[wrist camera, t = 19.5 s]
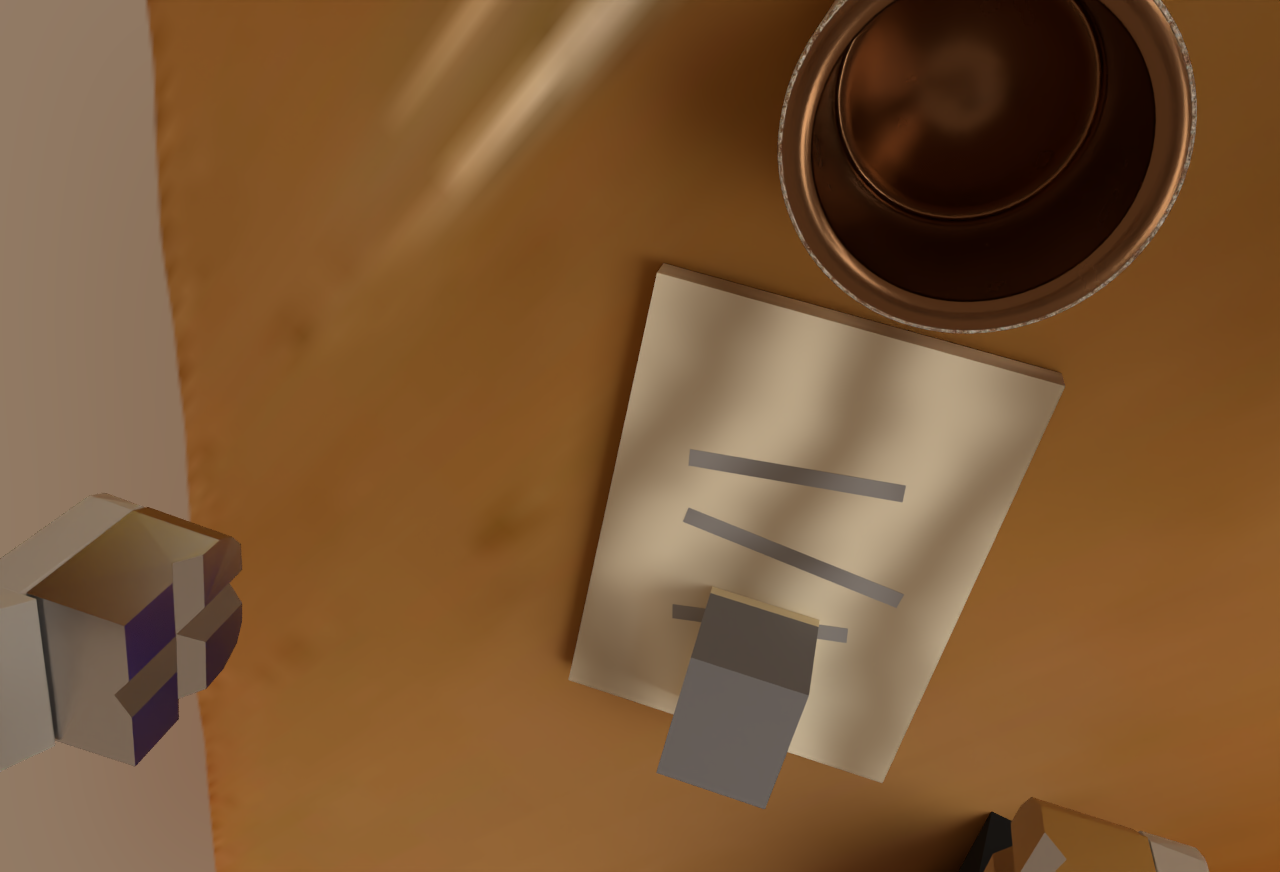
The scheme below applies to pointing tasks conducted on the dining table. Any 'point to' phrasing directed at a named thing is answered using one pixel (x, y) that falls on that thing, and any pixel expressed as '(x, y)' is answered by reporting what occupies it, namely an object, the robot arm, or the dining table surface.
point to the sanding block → (741, 697)
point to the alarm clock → (988, 843)
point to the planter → (984, 152)
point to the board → (804, 500)
